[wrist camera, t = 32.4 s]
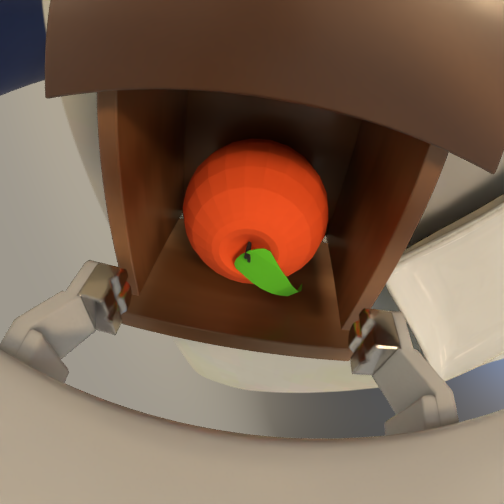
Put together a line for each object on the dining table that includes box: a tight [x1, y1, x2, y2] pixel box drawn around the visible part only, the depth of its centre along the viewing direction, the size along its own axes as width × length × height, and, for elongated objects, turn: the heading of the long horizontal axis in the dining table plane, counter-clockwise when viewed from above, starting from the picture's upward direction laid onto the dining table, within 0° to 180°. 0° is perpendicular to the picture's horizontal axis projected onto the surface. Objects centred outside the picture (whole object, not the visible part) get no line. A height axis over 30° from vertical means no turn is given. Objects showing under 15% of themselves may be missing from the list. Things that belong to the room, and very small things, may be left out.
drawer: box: [97, 89, 448, 361], centre depth 14 cm, size 18×12×9 cm
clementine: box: [183, 139, 328, 296], centre depth 14 cm, size 8×7×7 cm
